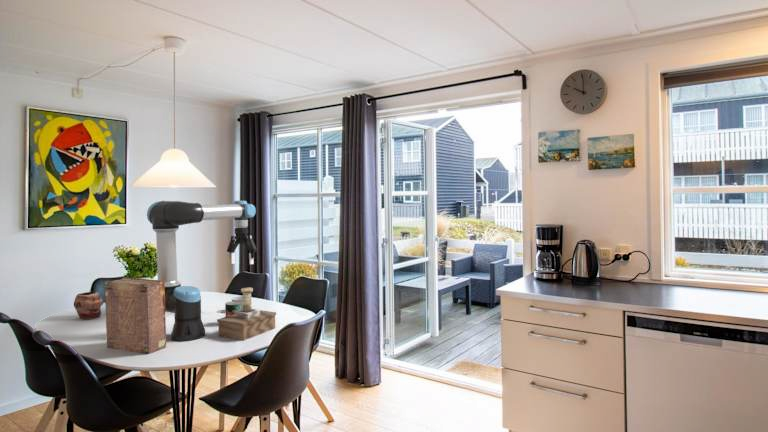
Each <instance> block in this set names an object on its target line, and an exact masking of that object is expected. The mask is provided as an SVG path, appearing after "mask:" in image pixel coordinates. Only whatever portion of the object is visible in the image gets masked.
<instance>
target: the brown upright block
mask: <svg viewBox="0 0 768 432" xmlns="http://www.w3.org/2000/svg"><path fill="white" fill-rule="evenodd" d="M104 295H105V296H104V301H105V302H104V303H105V304H104V305H105V328H106V347H107V348H109V349H114V350H121V351H128V352H134V353H135V352H136V353H141V354H148V355H149V354H153V353H155V352H157V351H160V350H163V349H164V348H167V333H166V331H167V330H166V329H167V328H166V326H167V325H166V312H165V282H164V281H160V280H158V279H146V278H134V277H122V278H121V279H115V280H104Z"/></svg>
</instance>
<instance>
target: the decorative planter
mask: <svg viewBox="0 0 768 432" xmlns="http://www.w3.org/2000/svg"><path fill="white" fill-rule="evenodd" d="M103 305H104V300H103V299H102V297H101V296H100V294H99V292H97V291H87V292H82V293H81V292H80V293H78V294H76V296H75V297H74V301H73V307H74V309H75V311H76V313H77V316H78V317H79V319H80V320H93V319H97V318H100V317H101V314H102V310H101V307H102V306H103Z"/></svg>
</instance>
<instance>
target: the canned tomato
mask: <svg viewBox="0 0 768 432" xmlns="http://www.w3.org/2000/svg"><path fill="white" fill-rule="evenodd" d="M224 305H225V306H224V308H225V317H227V316H230V315H233V314H235V312H236V311H239V310H241V302H240V301H232V300H231V301H227V302H225V303H224Z"/></svg>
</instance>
